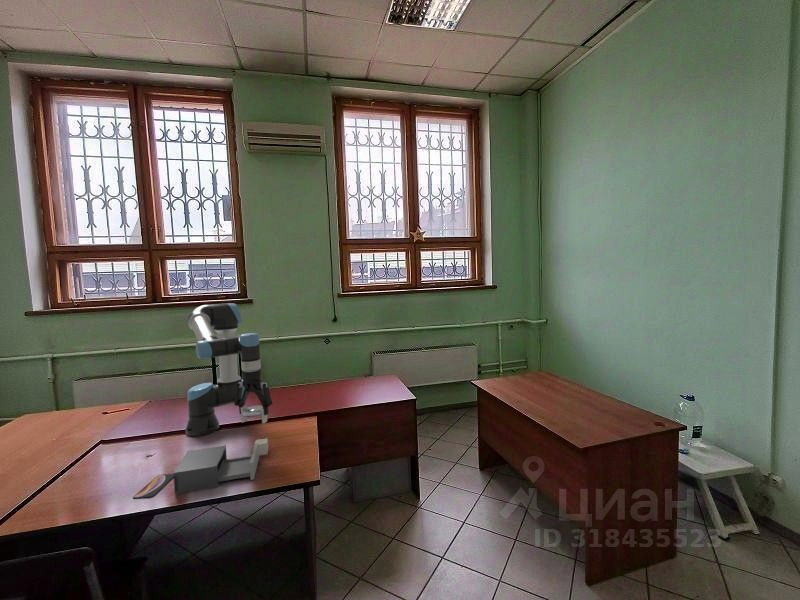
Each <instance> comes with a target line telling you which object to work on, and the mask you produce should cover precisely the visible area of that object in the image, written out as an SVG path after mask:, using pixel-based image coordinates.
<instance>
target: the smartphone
mask: <svg viewBox="0 0 800 600" xmlns="http://www.w3.org/2000/svg"><path fill="white" fill-rule="evenodd" d="M172 480H174V474H173V473H167V474H166V473H165V474H158V475H156V476H155V477H154V478H153V479H151V480H150V482H148V483H147V484H146V485H145V486H143V488H141V490H139V491H138V492H136V494H134V496H133V497H132V499H133V500H138V499H139V500H141V499H152V498H154V497H155V496H157V495H158V494H159V493H160V492H161V491H162V490H163V489H164V488H165V487H166V486H168V484H169V483H170V482H171V481H172Z"/></svg>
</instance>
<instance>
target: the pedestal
mask: <svg viewBox="0 0 800 600" xmlns="http://www.w3.org/2000/svg"><path fill="white" fill-rule="evenodd" d="M256 443H258V450H259V457H260V456H265V455H268V453H269V441H268V438H260V439H255V441H254V446H255V444H256ZM254 446H253V447H254Z"/></svg>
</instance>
